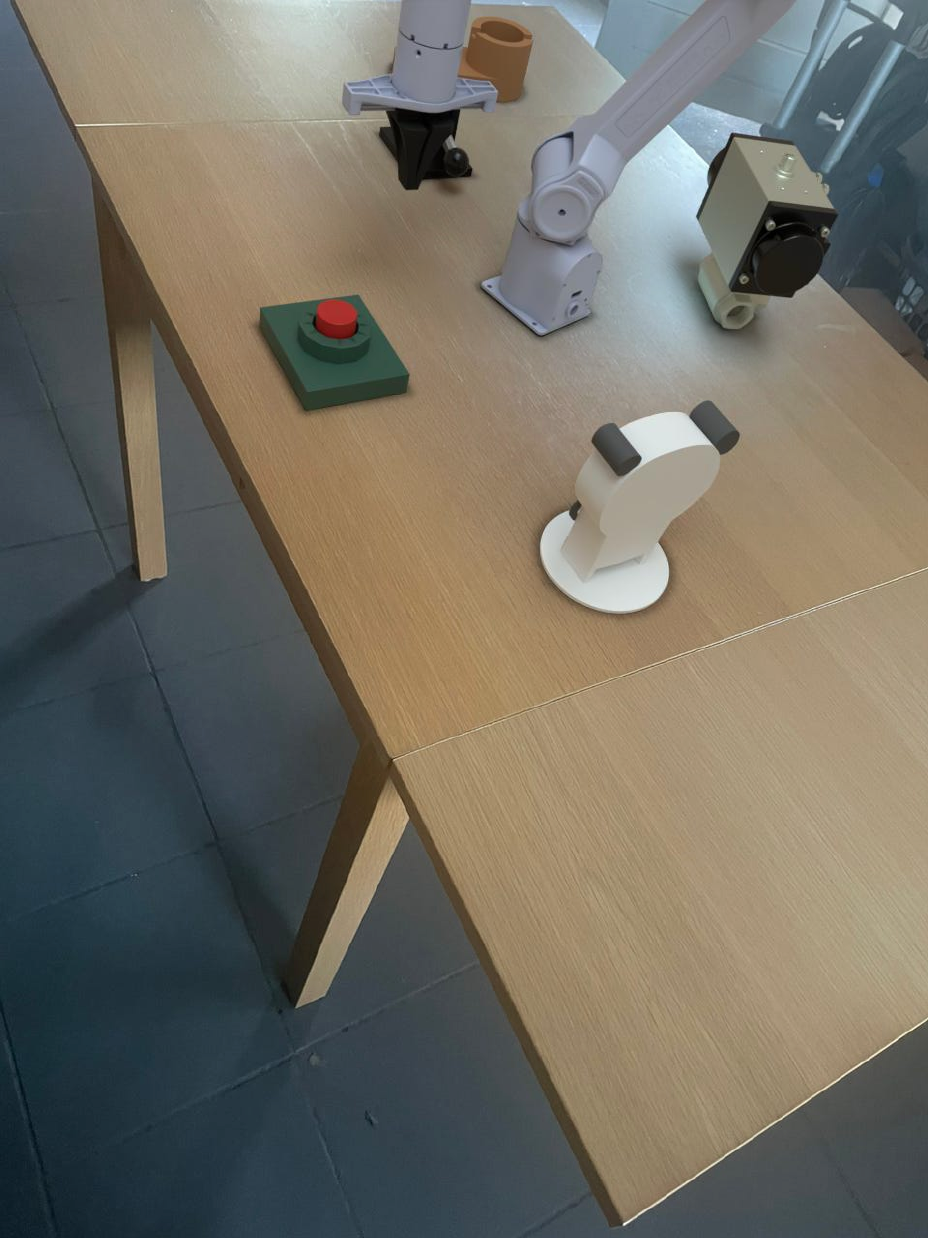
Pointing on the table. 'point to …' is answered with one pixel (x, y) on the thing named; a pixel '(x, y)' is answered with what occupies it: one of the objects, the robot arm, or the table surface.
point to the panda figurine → (633, 506)
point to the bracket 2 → (436, 164)
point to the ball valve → (760, 226)
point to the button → (336, 319)
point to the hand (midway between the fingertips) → (408, 184)
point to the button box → (332, 355)
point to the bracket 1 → (496, 55)
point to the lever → (454, 158)
